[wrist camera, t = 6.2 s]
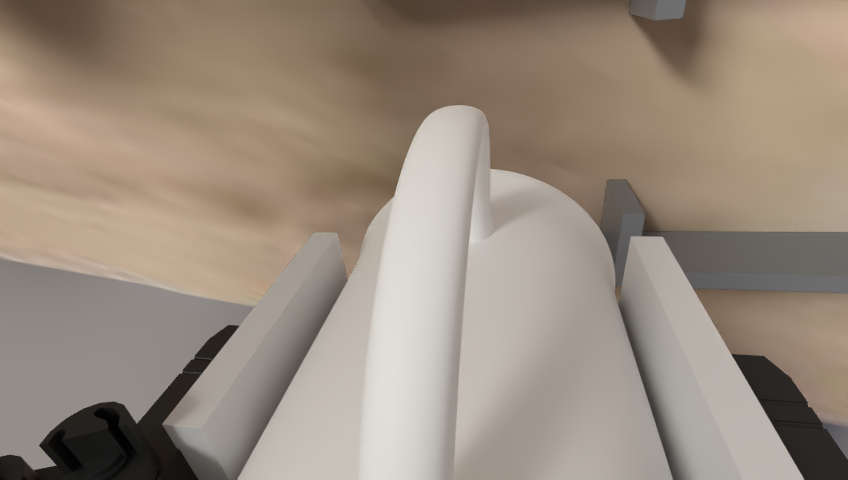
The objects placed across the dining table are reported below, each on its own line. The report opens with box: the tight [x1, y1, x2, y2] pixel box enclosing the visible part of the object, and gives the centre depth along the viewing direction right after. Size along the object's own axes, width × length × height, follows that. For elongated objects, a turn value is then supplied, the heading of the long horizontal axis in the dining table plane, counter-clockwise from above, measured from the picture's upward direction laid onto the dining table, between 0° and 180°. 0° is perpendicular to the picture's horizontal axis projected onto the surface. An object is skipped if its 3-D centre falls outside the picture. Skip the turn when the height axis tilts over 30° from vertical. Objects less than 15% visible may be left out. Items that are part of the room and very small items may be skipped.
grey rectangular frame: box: [600, 0, 848, 293], centre depth 24 cm, size 20×34×5 cm, turn 95°
